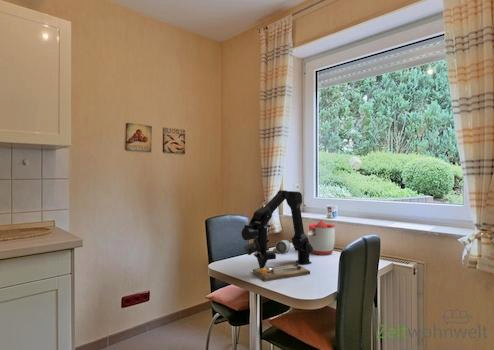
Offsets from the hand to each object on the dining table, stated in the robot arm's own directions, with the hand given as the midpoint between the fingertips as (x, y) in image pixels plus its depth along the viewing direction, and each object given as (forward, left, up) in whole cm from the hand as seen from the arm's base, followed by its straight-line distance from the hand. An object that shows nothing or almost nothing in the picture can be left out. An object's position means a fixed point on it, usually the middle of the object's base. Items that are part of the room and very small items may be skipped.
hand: (261, 269), depth 147 cm
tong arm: (+2, +11, -1) cm, 11 cm away
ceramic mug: (-34, +30, -3) cm, 46 cm away
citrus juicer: (-23, +51, -3) cm, 56 cm away
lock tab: (+2, 0, -1) cm, 2 cm away
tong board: (+1, +10, -3) cm, 10 cm away
